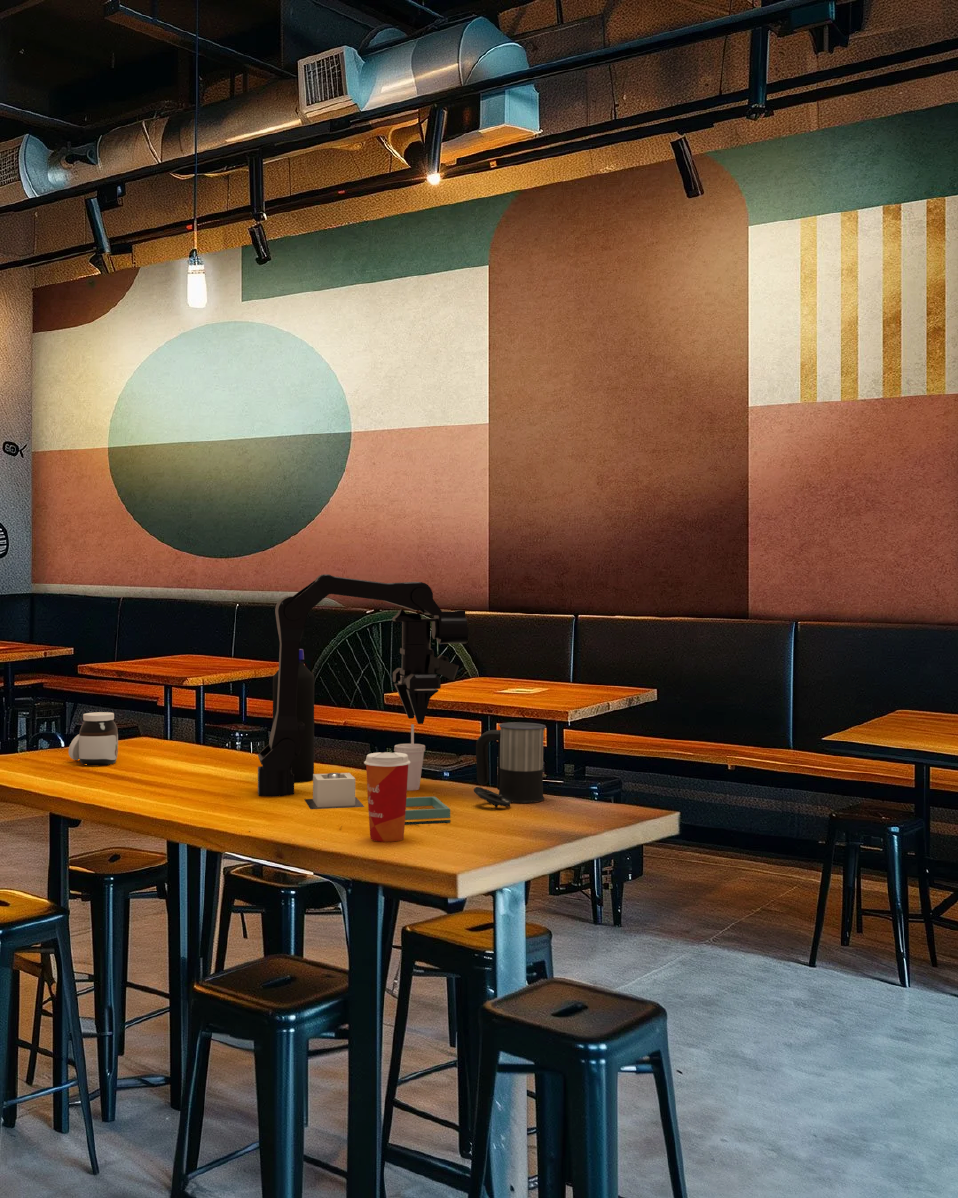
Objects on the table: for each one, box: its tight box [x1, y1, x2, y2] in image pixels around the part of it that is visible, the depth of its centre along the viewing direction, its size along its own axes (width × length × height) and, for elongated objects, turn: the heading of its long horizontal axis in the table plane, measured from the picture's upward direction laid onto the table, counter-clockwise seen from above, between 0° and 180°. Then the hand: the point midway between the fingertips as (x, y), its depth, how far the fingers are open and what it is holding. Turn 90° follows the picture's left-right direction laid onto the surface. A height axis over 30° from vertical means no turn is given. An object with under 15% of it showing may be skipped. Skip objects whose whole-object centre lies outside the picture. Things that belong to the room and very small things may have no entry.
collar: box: [312, 772, 356, 807], centre depth 225 cm, size 7×7×5 cm
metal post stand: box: [304, 772, 365, 810], centre depth 225 cm, size 10×10×6 cm
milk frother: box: [473, 721, 547, 809], centre depth 232 cm, size 14×16×15 cm
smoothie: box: [393, 723, 426, 791], centre depth 241 cm, size 6×6×14 cm
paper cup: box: [363, 751, 410, 843], centre depth 199 cm, size 8×8×14 cm
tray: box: [405, 796, 451, 826], centre depth 217 cm, size 12×12×2 cm
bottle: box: [272, 648, 315, 784], centre depth 257 cm, size 9×9×28 cm
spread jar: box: [68, 711, 119, 766], centre depth 278 cm, size 12×11×12 cm
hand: (415, 721), depth 241 cm, fingers open, 9 cm apart
